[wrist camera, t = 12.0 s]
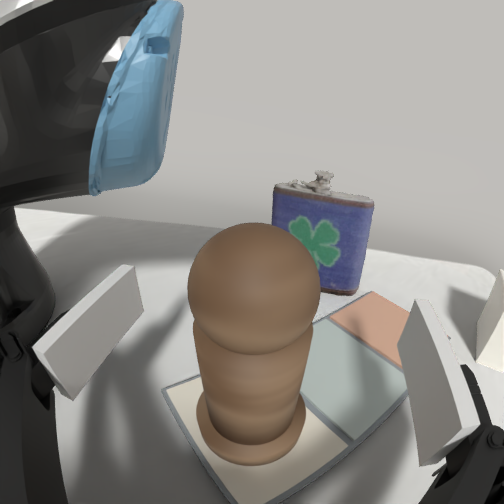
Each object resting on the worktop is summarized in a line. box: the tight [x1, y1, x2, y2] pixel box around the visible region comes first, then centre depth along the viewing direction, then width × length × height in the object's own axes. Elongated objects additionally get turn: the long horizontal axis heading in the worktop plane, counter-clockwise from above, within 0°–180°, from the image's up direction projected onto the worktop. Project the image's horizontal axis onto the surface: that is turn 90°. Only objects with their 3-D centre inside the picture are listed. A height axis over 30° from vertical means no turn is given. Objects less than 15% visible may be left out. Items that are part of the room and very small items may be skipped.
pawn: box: [187, 223, 321, 466], centre depth 10 cm, size 5×5×10 cm
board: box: [161, 291, 451, 504], centre depth 16 cm, size 9×20×1 cm, turn 123°
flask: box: [272, 170, 374, 296], centre depth 24 cm, size 9×3×11 cm, turn 62°
